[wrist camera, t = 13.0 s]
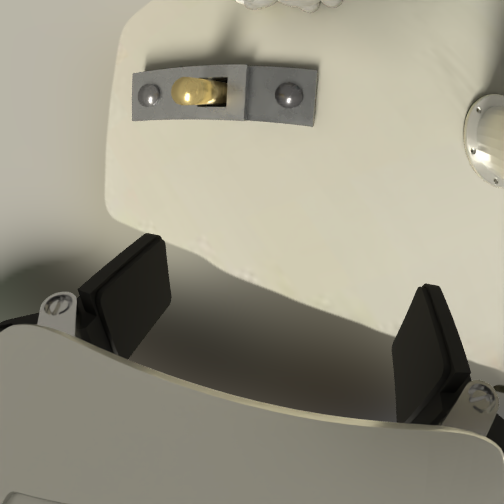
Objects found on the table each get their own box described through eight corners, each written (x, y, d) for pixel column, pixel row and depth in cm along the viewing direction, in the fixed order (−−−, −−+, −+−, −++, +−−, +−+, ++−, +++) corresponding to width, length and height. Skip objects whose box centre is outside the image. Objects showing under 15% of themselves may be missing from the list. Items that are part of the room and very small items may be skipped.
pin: (210, 82, 33) (171, 77, 24) (232, 82, 32) (198, 75, 24) (209, 103, 34) (170, 105, 26) (231, 104, 34) (197, 105, 25)
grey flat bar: (317, 71, 29) (316, 67, 26) (313, 126, 33) (311, 127, 30) (144, 74, 34) (130, 73, 31) (143, 119, 37) (129, 121, 35)
